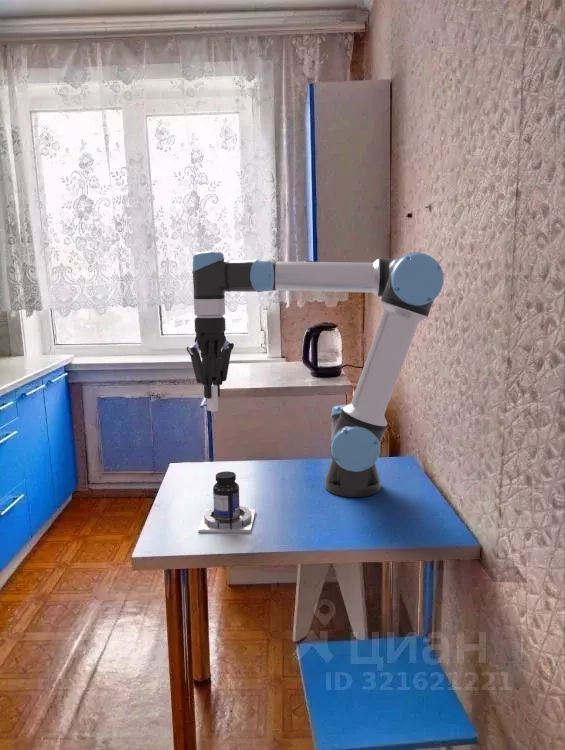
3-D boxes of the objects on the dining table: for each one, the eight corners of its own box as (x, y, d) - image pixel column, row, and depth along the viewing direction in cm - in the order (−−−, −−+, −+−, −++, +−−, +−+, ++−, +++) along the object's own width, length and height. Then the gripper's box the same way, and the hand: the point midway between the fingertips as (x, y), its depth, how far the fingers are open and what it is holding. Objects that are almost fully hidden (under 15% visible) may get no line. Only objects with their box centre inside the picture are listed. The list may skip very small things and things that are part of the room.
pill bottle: (233, 512, 145) (232, 468, 143) (244, 521, 140) (243, 476, 138) (210, 517, 142) (208, 472, 140) (219, 526, 137) (218, 480, 135)
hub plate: (255, 512, 147) (255, 504, 146) (250, 533, 135) (250, 524, 135) (207, 511, 147) (207, 504, 147) (198, 532, 136) (197, 524, 135)
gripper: (222, 314, 152) (224, 404, 156) (178, 317, 144) (182, 412, 148) (240, 315, 147) (242, 408, 151) (196, 318, 138) (199, 417, 142)
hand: (212, 410), depth 149 cm, fingers closed
